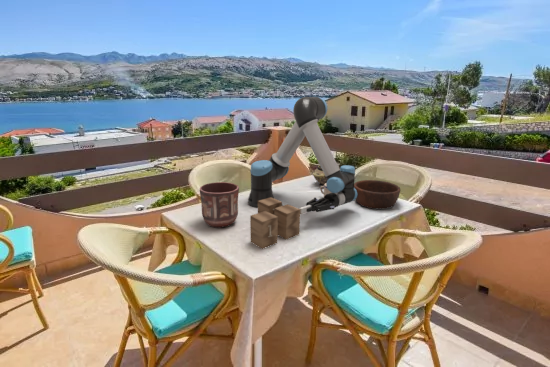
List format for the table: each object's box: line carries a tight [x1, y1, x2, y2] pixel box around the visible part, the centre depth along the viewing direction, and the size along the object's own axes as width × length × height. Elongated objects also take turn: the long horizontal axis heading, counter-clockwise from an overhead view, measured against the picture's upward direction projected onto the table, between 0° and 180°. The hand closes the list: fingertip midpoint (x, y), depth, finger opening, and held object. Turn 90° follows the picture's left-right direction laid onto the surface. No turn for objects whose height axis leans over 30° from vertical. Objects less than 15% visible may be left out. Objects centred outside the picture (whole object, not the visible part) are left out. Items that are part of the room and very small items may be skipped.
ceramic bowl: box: [312, 164, 327, 187], centre depth 209 cm, size 24×18×15 cm
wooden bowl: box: [354, 179, 401, 210], centre depth 178 cm, size 25×25×10 cm
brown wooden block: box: [274, 204, 301, 240], centre depth 139 cm, size 8×8×12 cm
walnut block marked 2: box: [257, 197, 283, 215], centre depth 148 cm, size 8×8×12 cm
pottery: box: [199, 181, 240, 229], centre depth 149 cm, size 18×18×18 cm
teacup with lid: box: [319, 183, 332, 197], centre depth 183 cm, size 12×9×12 cm
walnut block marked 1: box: [249, 211, 278, 250], centre depth 131 cm, size 8×8×12 cm
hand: (300, 211), depth 143 cm, fingers closed
